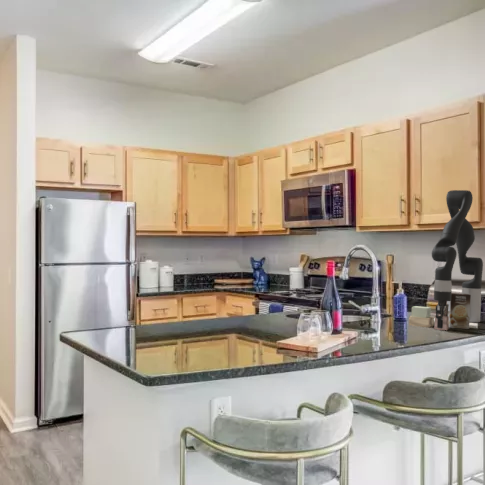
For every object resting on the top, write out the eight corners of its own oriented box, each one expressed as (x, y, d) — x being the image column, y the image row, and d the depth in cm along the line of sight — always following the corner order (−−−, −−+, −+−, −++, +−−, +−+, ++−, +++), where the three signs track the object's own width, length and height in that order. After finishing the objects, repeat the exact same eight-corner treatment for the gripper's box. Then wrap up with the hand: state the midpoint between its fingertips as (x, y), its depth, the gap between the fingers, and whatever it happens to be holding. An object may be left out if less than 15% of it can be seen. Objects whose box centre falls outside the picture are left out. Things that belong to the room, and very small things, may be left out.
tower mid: (415, 315, 262) (415, 306, 262) (430, 316, 258) (430, 307, 258) (411, 316, 256) (411, 307, 256) (426, 318, 252) (426, 308, 252)
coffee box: (449, 327, 252) (450, 293, 252) (445, 325, 258) (446, 292, 258) (469, 329, 251) (470, 294, 251) (465, 327, 257) (466, 293, 257)
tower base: (414, 324, 263) (415, 315, 263) (433, 326, 258) (434, 316, 258) (409, 326, 255) (409, 316, 255) (428, 328, 250) (428, 318, 250)
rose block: (437, 328, 249) (437, 315, 249) (448, 329, 246) (448, 316, 246) (434, 329, 245) (434, 316, 245) (445, 330, 242) (446, 317, 242)
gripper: (438, 288, 254) (437, 324, 254) (430, 290, 242) (428, 328, 242) (455, 290, 250) (453, 326, 249) (447, 291, 238) (446, 330, 238)
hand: (441, 327), depth 246 cm, fingers closed on rose block, 5 cm apart
